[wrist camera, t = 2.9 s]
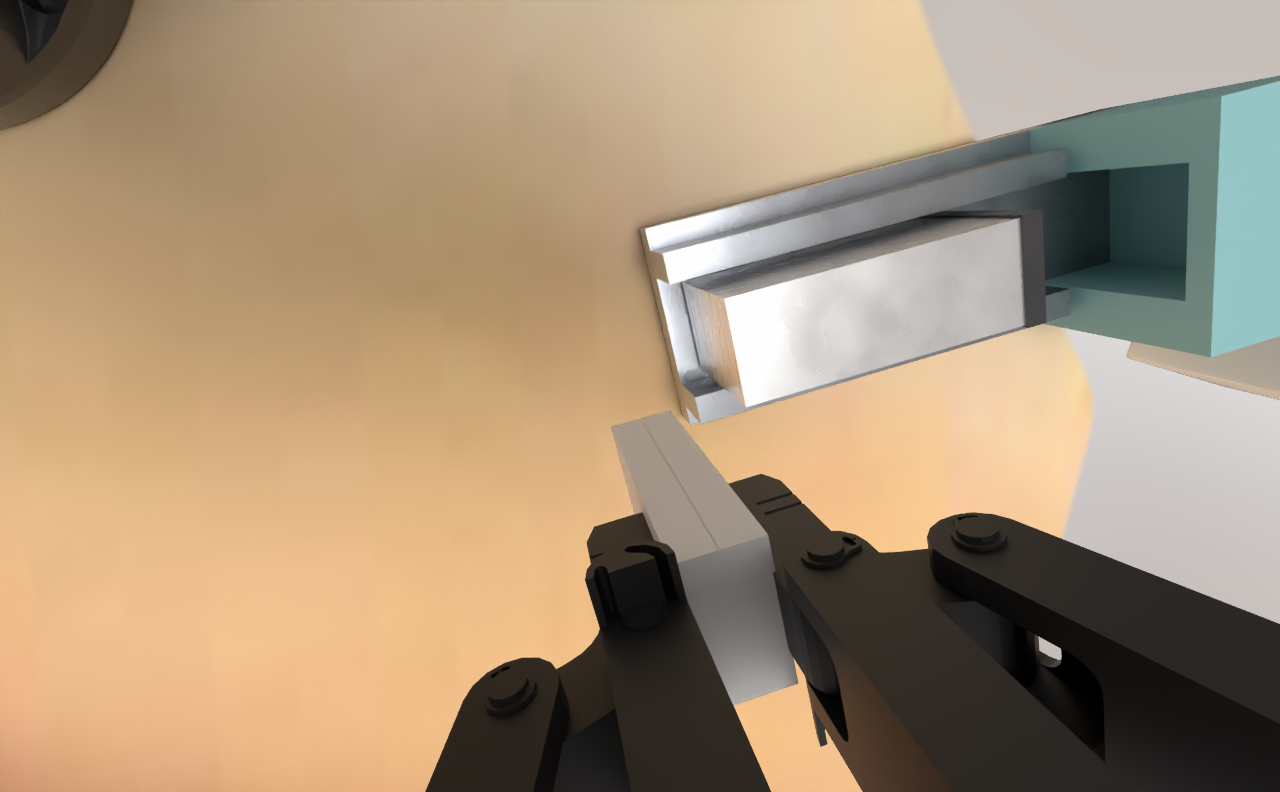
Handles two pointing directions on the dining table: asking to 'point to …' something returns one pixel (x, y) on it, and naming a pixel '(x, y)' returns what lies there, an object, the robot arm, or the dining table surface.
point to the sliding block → (868, 301)
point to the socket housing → (1182, 218)
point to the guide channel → (863, 204)
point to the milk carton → (1222, 365)
